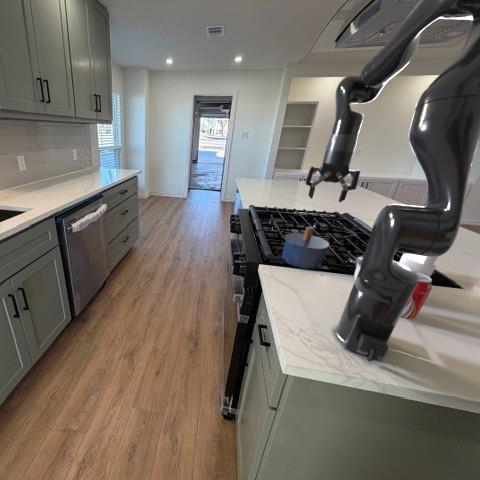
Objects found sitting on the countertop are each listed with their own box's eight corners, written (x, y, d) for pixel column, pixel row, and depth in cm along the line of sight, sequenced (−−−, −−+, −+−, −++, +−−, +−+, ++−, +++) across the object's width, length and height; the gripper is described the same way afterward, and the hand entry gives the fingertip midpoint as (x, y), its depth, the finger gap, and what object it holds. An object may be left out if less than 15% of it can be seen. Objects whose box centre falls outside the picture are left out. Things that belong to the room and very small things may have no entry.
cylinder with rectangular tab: (390, 266, 96) (403, 237, 91) (417, 269, 95) (432, 240, 90) (406, 278, 88) (421, 247, 83) (436, 282, 86) (453, 250, 82)
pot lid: (329, 255, 86) (335, 238, 83) (283, 245, 92) (286, 229, 89) (327, 240, 97) (331, 225, 95) (285, 232, 104) (289, 218, 101)
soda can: (376, 304, 74) (392, 268, 69) (400, 305, 74) (418, 269, 69) (396, 320, 68) (415, 282, 63) (422, 321, 67) (444, 283, 63)
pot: (321, 274, 89) (328, 252, 86) (279, 264, 95) (285, 243, 92) (319, 258, 100) (326, 239, 97) (282, 250, 106) (287, 232, 103)
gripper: (314, 148, 80) (301, 199, 86) (370, 151, 74) (352, 205, 80) (313, 148, 86) (301, 195, 92) (365, 150, 80) (348, 200, 86)
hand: (325, 199), depth 86 cm, fingers open, 8 cm apart
